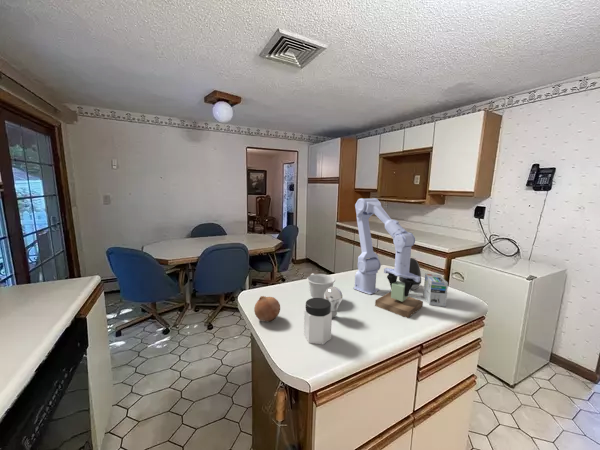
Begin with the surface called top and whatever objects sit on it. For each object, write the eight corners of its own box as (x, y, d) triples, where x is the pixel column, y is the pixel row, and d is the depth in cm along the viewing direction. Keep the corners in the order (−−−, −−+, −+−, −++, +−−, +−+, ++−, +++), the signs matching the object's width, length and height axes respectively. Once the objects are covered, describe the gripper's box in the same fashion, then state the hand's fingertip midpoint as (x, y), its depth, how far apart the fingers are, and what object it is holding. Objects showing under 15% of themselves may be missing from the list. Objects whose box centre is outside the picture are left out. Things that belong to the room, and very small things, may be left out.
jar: (315, 327, 92) (316, 294, 90) (334, 336, 87) (336, 302, 85) (298, 338, 85) (299, 303, 84) (319, 348, 80) (320, 311, 78)
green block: (390, 297, 109) (391, 283, 108) (396, 294, 112) (397, 280, 111) (402, 301, 105) (403, 287, 104) (407, 297, 109) (408, 284, 108)
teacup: (322, 290, 124) (322, 270, 123) (339, 303, 111) (340, 281, 109) (299, 294, 119) (299, 273, 117) (314, 309, 106) (315, 285, 104)
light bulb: (342, 314, 102) (344, 285, 100) (339, 323, 95) (341, 292, 93) (325, 311, 104) (326, 282, 102) (321, 319, 97) (322, 289, 95)
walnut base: (375, 305, 110) (375, 300, 109) (391, 296, 119) (391, 291, 119) (408, 318, 100) (408, 312, 99) (422, 306, 109) (423, 301, 109)
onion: (257, 326, 97) (246, 302, 97) (277, 313, 102) (267, 290, 102) (267, 329, 89) (255, 302, 89) (288, 315, 94) (277, 289, 94)
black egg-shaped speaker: (412, 283, 136) (415, 255, 134) (424, 291, 126) (427, 260, 124) (394, 283, 135) (396, 255, 132) (405, 292, 125) (407, 261, 122)
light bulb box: (446, 307, 110) (448, 282, 108) (428, 305, 111) (431, 281, 109) (438, 296, 120) (440, 274, 118) (422, 295, 121) (424, 272, 120)
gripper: (381, 260, 109) (379, 290, 111) (416, 268, 99) (413, 302, 101) (389, 257, 114) (387, 286, 116) (423, 264, 104) (420, 297, 106)
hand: (399, 293), depth 109 cm, fingers closed on green block, 5 cm apart
